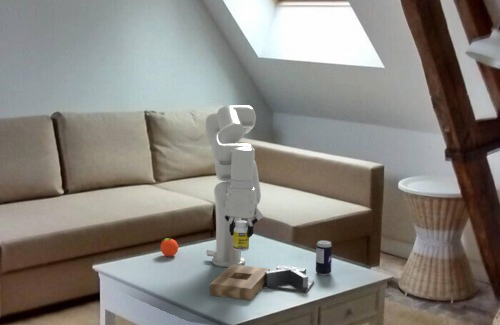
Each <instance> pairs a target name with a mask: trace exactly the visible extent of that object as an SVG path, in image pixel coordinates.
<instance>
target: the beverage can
mask: <svg viewBox="0 0 500 325" xmlns="http://www.w3.org/2000/svg"><path fill="white" fill-rule="evenodd" d="M332 254H333V245H332V241H330V240H325V239H324V240H318V241H317V243H316V252H315V272H316V274H318V275H319V276H330V274H331V273H332V260H333V259H332V258H333V257H332Z"/></svg>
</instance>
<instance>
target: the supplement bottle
mask: <svg viewBox="0 0 500 325" xmlns="http://www.w3.org/2000/svg"><path fill="white" fill-rule="evenodd" d="M248 226H249V223H248V220H242V219H241V220H239V221H236V227H235V228H234V236H233V249H234V250H236V251H241V252H246V251H249V248H250V247H249V246H250V238H249V237H247V231H248Z"/></svg>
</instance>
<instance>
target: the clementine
mask: <svg viewBox="0 0 500 325" xmlns="http://www.w3.org/2000/svg"><path fill="white" fill-rule="evenodd" d="M160 243H161V244H160V251H161V253H162V254H163V255H164V256H166V257H173V256H175V255H176V254H177V253H178V251H179V244H178V242H177V241H176V239H175V240H174V239H173V238H164V239H162V240H161V242H160Z"/></svg>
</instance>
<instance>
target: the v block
mask: <svg viewBox="0 0 500 325" xmlns="http://www.w3.org/2000/svg"><path fill="white" fill-rule="evenodd" d="M314 283H315V280H314V279H309V276H308V275H307V268H306V267H298V266H289V265H282V264H281V265H280V264H279V265H278V266H277V267H276V268H275V269H274V270H273V269H272V270H270V271H265V282H264V284H263V285H262V288H263V289H272V290H279V291H288V292H296V293H303V294H308V292H309V290H310V289H311V288H312V286H313V285H314ZM262 288H261V289H262Z"/></svg>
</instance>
